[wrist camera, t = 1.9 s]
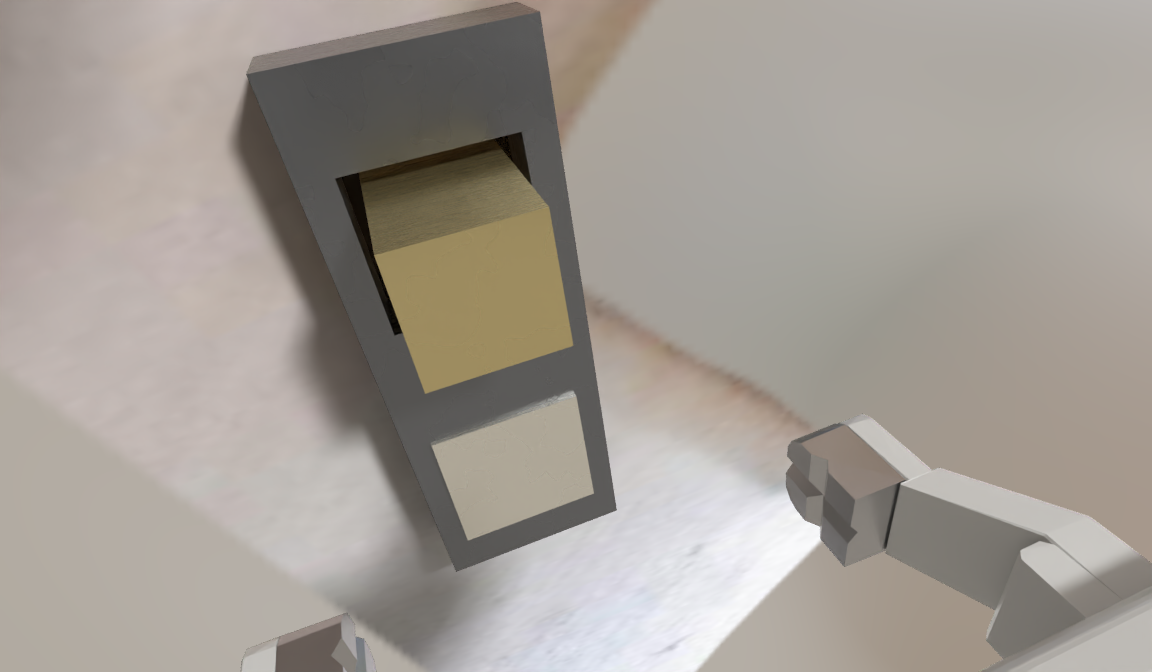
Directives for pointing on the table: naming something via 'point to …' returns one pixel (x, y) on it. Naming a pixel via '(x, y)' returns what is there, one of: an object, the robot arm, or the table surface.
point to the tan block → (466, 262)
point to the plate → (423, 421)
